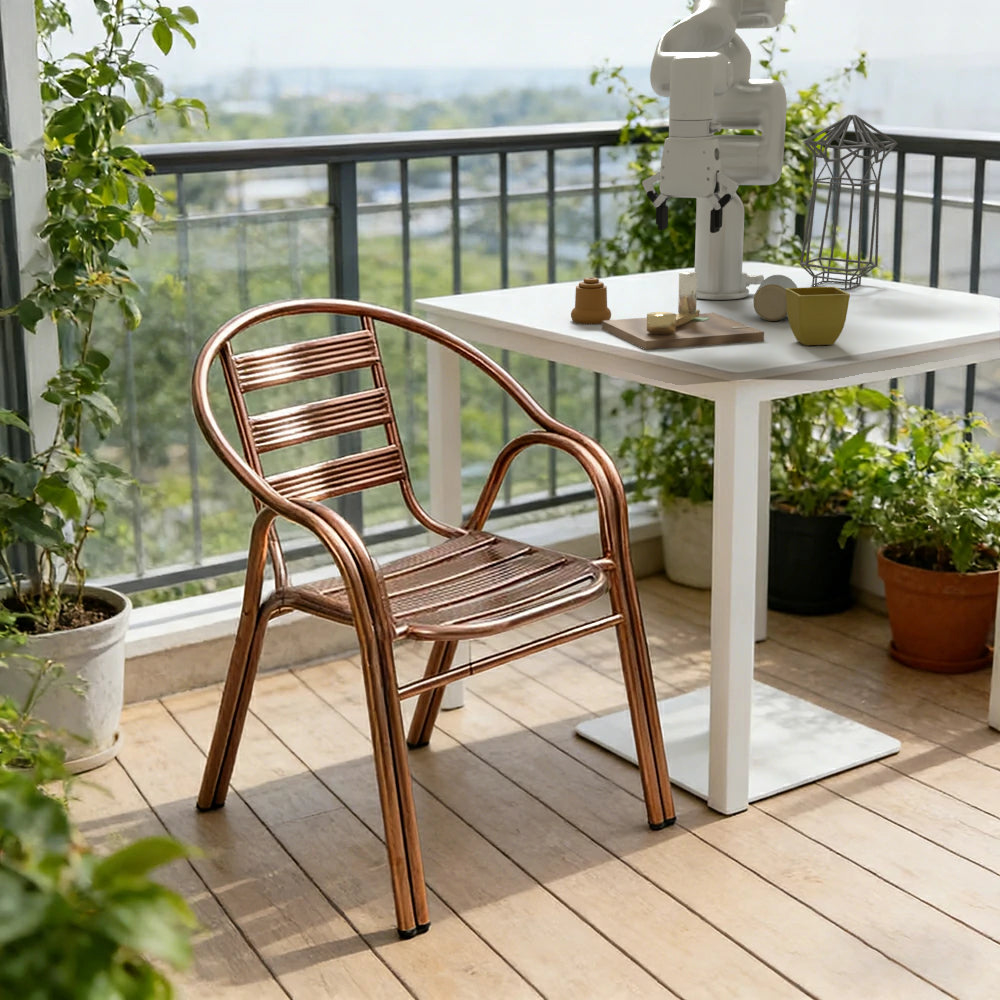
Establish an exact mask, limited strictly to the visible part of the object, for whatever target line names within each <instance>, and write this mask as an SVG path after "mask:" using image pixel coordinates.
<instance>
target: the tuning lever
mask: <svg viewBox="0 0 1000 1000" xmlns="http://www.w3.org/2000/svg"><path fill="white" fill-rule="evenodd" d="M697 299H698V298H697V273H696V272H695V271H681V272H678V303H677V304H678V305H677V307H678V308H677V310H678V311H677V312H678V313H675V312H670V311H669V312H667V311H656V312H655V311H654V312H648V313H647V314H646V318H647V332H650V333H658V334H665V333H673V332H676V327H677V326H679V325H682V324H684V323H686V322H688V321H690V320H693V319H695V318H697V317H699V314H700V309H697V304H698V303H697V301H698V300H697Z"/></svg>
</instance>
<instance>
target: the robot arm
mask: <svg viewBox="0 0 1000 1000" xmlns="http://www.w3.org/2000/svg"><path fill="white" fill-rule="evenodd" d="M785 10H786V0H693V7H692V11H691V14H690V16H687V17H686V18H684V19H682V20H680V22H677V23H676V24H674V26H672V27H671V28H669V29H668V30H667V31H665V32H664V34H663V35H661V37H660V38H659V40H658V42H657V45H656V48H655V50H654V55H653V58H652V62H651V66H650V74H649V79H650V80H649V81H650V86H651V88H652V90H653V92H654V93H655V94H656V95H658V96H660V97H663V98H669V111H668V112H669V113H668V116H669V117H668V121H669V122H668V137H667V138H665V140H664V144H663V149H662V154H661V155H662V156H661V160H660V169H659V170H660V171H659V172H657V173H655V174H653V175H651V176H649V177H647V178H645V179H644V180H642V182H641V183H642V184H641V185H642V186H643V188H644V191H645V193H646V196H647V198H648V199H649V200H650V201H651V202H652V203H653V206H654V207H655V225H657V230H658V231H663V230H666V229H668V228H669V206H668V205H667V202H668V201H669V200H670V198H682V199H683V198H684V199H685V198H686V199H687V198H688V199H689V198H691V199H694V198H695V199H696V211H695V212H696V214H695V243H694V245H695V246H694V247H695V249H694V272H696V273H697V299H700V300H714V301H715V300H716V301H719V300H720V301H721V300H722V301H724V300H725V301H726V300H727V301H728V300H737V299H744V298H746V297H747V298H748V297H749V295H750V290H749V289H748V288H747V287H750V285H755V286H757V285H761V283H762V282H763V281H764V280H765V277H764V275H763V274H755V275H752V274H748V273H747V272H744V271H743V261H744V260H743V259H744V258H743V257H744V256H743V255H744V232H745V231H744V230H745V206H744V203H743V201H742V199H741V197H740V196H739V195H738V194H737V190H738V189H739V186H770V185H773V184H776V183H777V182H778V181H779V180H780V178H781V176H782V172H783V167H784V155H785V140H786V139H785V137H786V124H787V122H786V121H787V107H788V106H787V94H786V89H785V87H784V84H782V82H780V81H778V80H777V79H772V78H751V66H752V65H751V62H752V54H751V51H750V50H749V47H748V46H747V44H746V43H745V42H744V40H743V38H742V37H740V35H739V34H738V33H737V32H736V30H738V29H742V30H743V29H748V30H749V29H773V28H777V26H778V25H780V24H781V22H782V20H783V18H784V16H785ZM722 129H723V130H758V131H759V132H761V135H742V134H716V135H715V133H717V132H718V133H720V132H721V131H722ZM657 182H659V193H660V194H659V193H658V191H657V190H655V187H654V184H655V183H657Z"/></svg>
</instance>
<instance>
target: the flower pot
mask: <svg viewBox="0 0 1000 1000" xmlns="http://www.w3.org/2000/svg"><path fill="white" fill-rule="evenodd" d="M838 288H839V287H836V286H823V287H811V286H810V287H809V286H808V287H806V286H805V287H797V288H786V301H787V313H788V315H787V319H788V323H789V327H790V329H791V331H792V333H793V335H794V338H795V340H796V341H797V342H799V343H800V344H802V345H804V346H806V347H807V346H808V347H810V346H825V345H826V346H831V345H834V344H835V343H836V342H837V340H838V339H839V337H840V336H841V334H842V332H843V329H844V328H845V324H846V319H847V317H848V316H847V315H848V308H849V304H850V297H851V294H850V293H849V292H847V291H845V290H840V289H838Z"/></svg>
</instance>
